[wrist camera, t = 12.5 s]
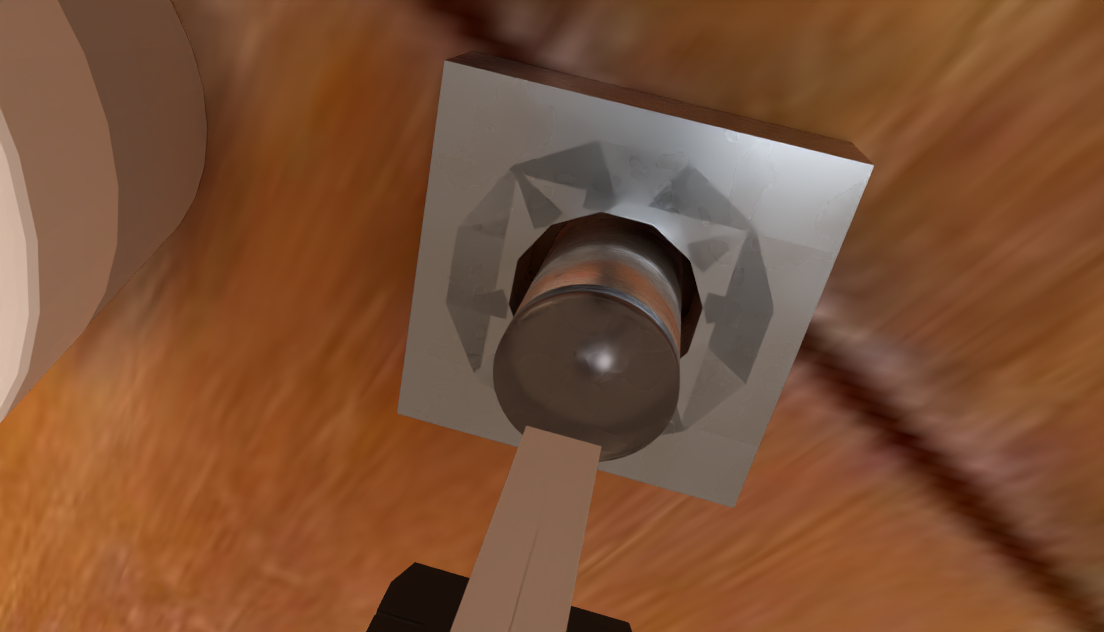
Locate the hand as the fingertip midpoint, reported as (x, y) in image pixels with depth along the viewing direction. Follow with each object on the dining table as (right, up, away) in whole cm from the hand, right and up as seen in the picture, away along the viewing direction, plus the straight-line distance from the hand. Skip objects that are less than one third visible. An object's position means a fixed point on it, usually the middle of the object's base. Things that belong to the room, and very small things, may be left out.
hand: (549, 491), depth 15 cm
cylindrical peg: (+2, +5, +11) cm, 12 cm away
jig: (+2, +5, +11) cm, 12 cm away
